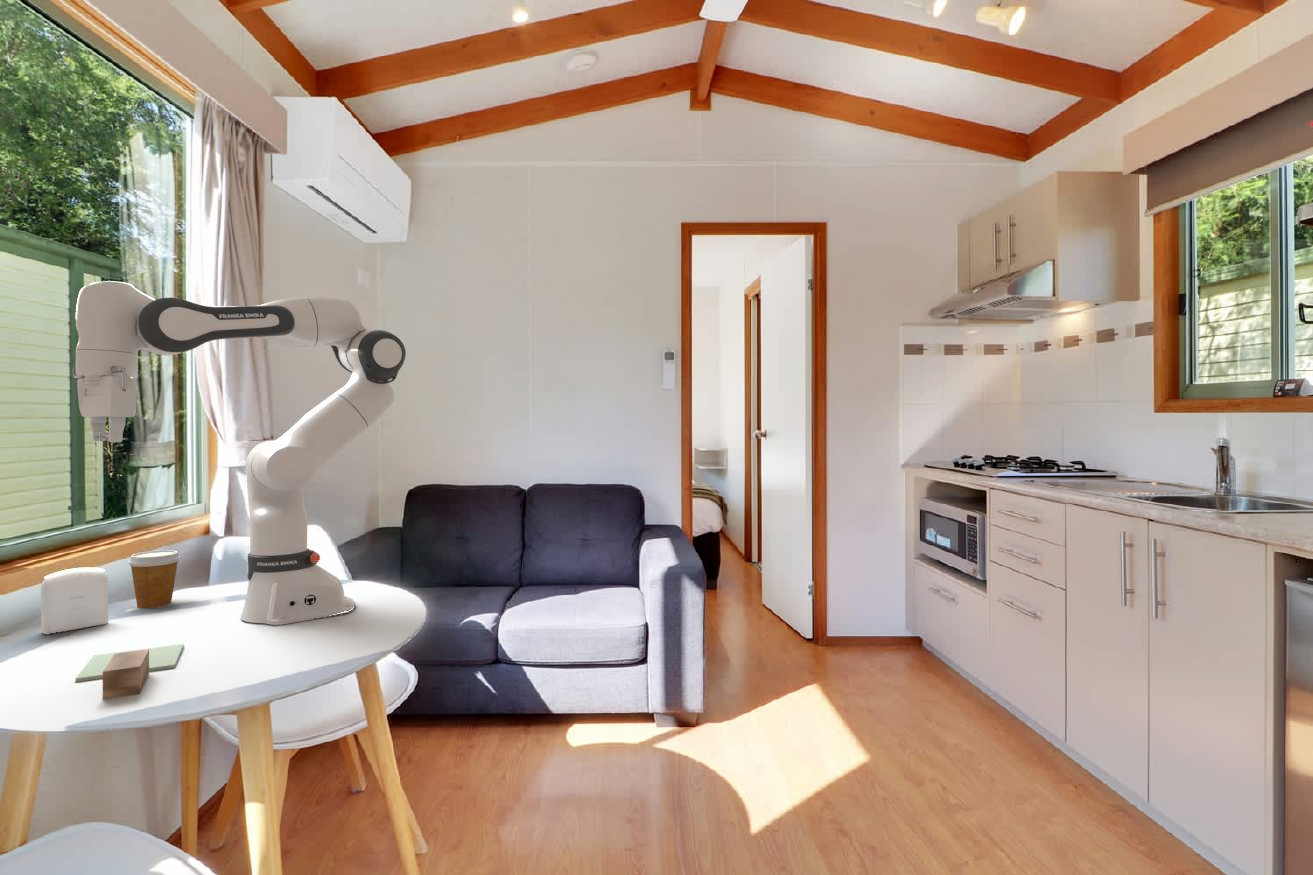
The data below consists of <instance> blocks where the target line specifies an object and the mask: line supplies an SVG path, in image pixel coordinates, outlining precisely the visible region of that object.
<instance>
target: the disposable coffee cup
mask: <svg viewBox="0 0 1313 875" xmlns="http://www.w3.org/2000/svg"><path fill="white" fill-rule="evenodd" d="M180 559H181V556H180V555H179V552H178V551H177V550H171V549H169V550H168V549H167V550H164V549H163V550H152V551H151V550H150V551H143V552H137V553H134V554H131V556H130V559H129V560H128V561H127V562H128V564H129V566H130V568H131V575H132V581H133V582H132V583H133V587H134V593H135V600H136V602H135V603H136V608H138V609H153V608H155V609H156V608H160V607H165V606H168V605H171V603H172V601H173V600H172V598H173V593H174V587H175V580H176V577H177V576H176V575H177V570H178V569H177V568H178V562H179V561H180Z"/></svg>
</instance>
